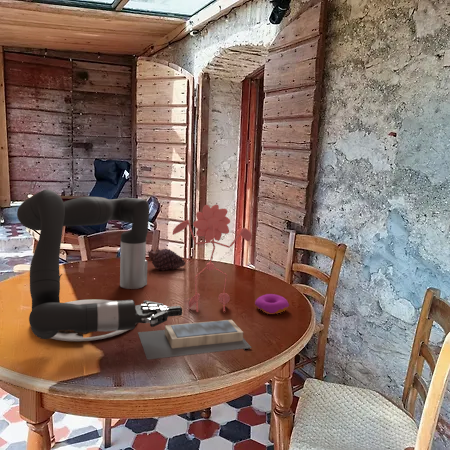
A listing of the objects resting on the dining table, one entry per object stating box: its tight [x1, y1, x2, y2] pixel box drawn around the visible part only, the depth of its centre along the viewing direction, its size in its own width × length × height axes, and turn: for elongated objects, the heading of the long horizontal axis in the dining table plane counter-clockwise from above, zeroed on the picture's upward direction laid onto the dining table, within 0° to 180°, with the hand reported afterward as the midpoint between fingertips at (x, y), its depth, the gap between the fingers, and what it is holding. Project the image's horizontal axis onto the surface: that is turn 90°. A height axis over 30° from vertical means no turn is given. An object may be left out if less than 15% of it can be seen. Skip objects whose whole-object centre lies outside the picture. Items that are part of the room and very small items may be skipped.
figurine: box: [172, 204, 253, 313], centre depth 140 cm, size 15×26×35 cm, turn 104°
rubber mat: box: [137, 329, 252, 361], centre depth 115 cm, size 28×16×1 cm, turn 110°
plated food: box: [50, 298, 138, 342], centre depth 123 cm, size 30×30×3 cm
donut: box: [254, 293, 290, 313], centre depth 142 cm, size 11×10×5 cm
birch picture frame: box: [164, 319, 244, 348], centre depth 117 cm, size 9×3×20 cm
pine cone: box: [146, 248, 186, 271], centre depth 182 cm, size 18×10×10 cm
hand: (181, 310), depth 113 cm, fingers closed
